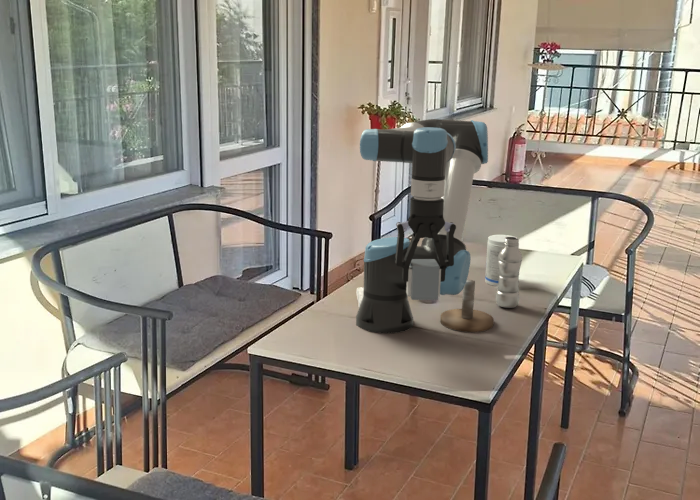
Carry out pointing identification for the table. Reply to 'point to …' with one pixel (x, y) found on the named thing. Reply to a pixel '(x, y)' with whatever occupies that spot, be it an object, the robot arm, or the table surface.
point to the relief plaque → (359, 295)
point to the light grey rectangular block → (424, 279)
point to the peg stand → (467, 314)
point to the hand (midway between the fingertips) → (422, 294)
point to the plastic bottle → (509, 274)
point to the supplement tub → (494, 258)
